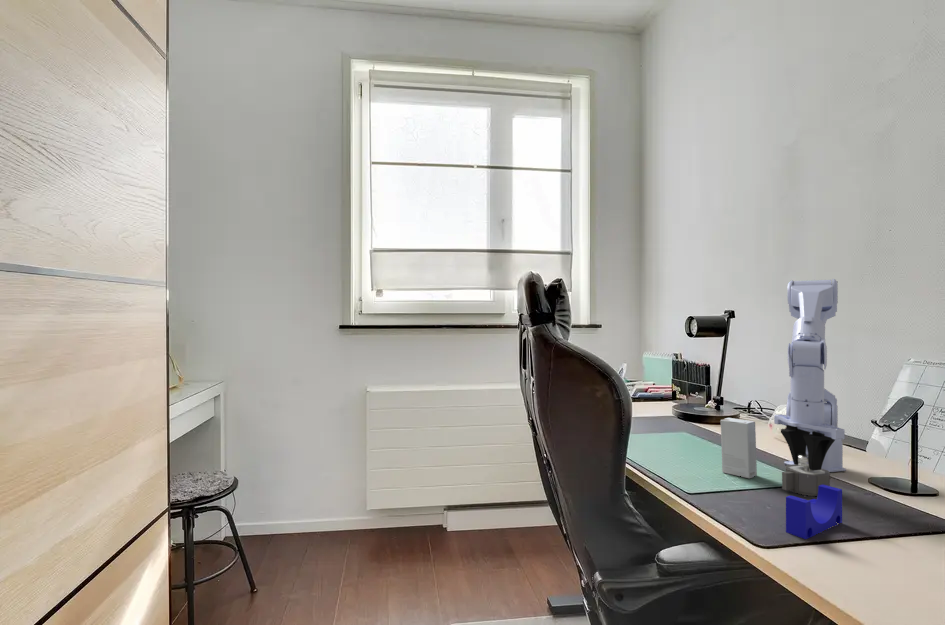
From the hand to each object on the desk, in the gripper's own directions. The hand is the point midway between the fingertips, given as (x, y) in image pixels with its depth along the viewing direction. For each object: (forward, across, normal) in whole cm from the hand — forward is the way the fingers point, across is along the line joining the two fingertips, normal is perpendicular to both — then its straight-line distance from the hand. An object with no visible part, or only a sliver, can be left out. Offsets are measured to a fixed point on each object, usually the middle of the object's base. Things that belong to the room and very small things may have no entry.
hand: (807, 466), depth 102 cm
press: (+5, 0, 0) cm, 5 cm away
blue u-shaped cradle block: (+5, +14, -14) cm, 21 cm away
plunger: (+4, 0, 0) cm, 4 cm away
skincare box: (+5, -12, -6) cm, 14 cm away
